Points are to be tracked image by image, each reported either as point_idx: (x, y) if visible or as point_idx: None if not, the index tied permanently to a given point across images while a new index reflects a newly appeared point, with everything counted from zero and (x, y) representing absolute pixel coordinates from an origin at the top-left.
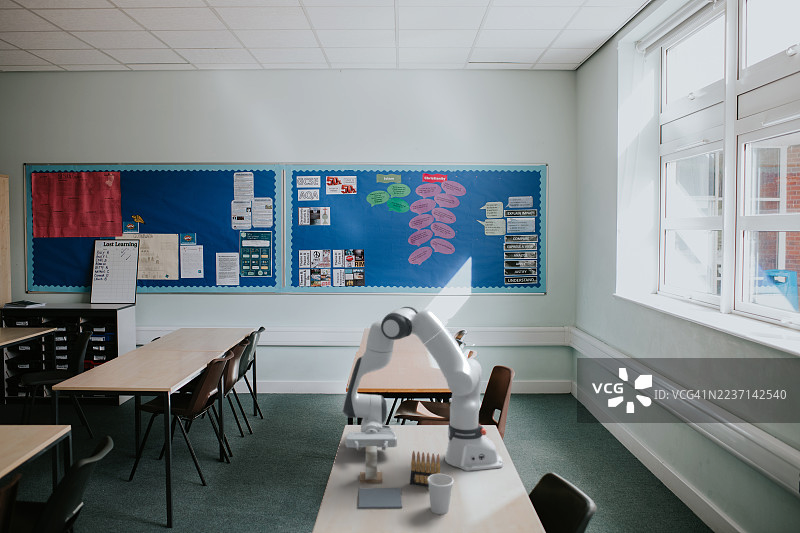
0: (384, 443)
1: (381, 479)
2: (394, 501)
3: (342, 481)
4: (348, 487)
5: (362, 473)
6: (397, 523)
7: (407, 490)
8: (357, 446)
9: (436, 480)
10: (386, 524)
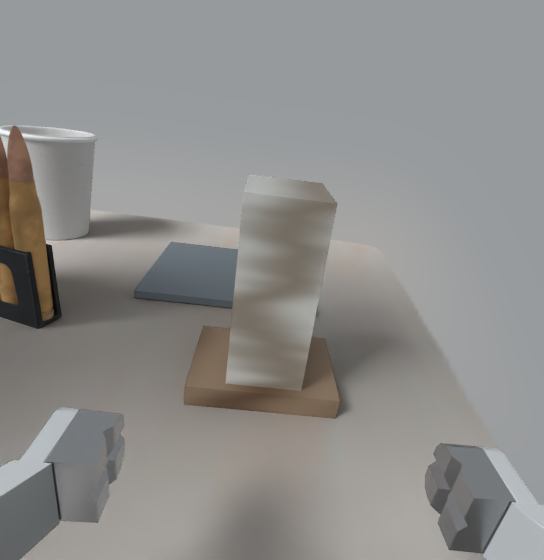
0: (29, 475)
1: (207, 328)
2: (187, 254)
3: (416, 375)
4: (366, 335)
5: (320, 386)
6: (202, 227)
7: (103, 292)
8: (487, 448)
9: (41, 158)
10: (229, 229)
